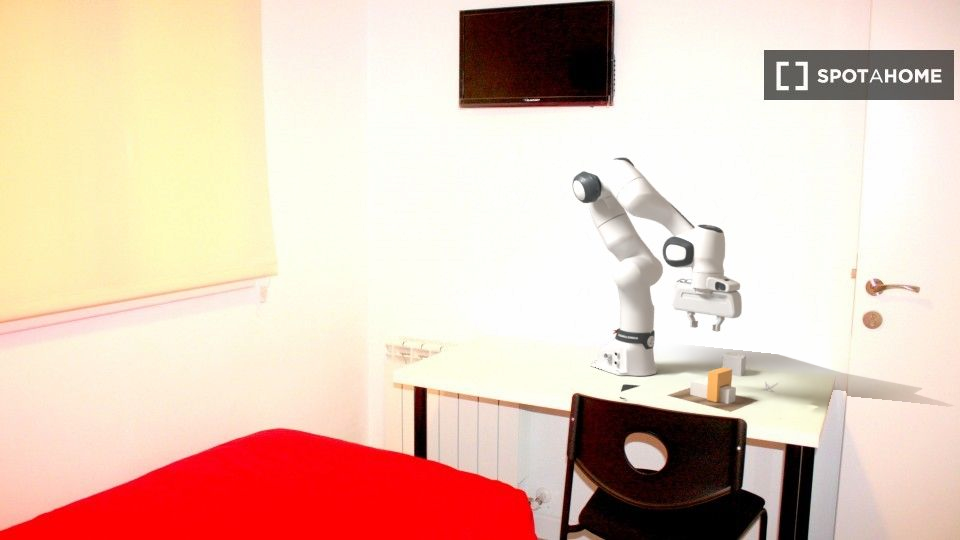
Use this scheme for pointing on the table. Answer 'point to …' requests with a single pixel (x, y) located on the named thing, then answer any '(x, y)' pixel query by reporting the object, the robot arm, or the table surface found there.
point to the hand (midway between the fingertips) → (704, 329)
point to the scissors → (769, 387)
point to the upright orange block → (718, 382)
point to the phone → (627, 388)
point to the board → (730, 407)
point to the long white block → (700, 390)
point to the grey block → (735, 363)
